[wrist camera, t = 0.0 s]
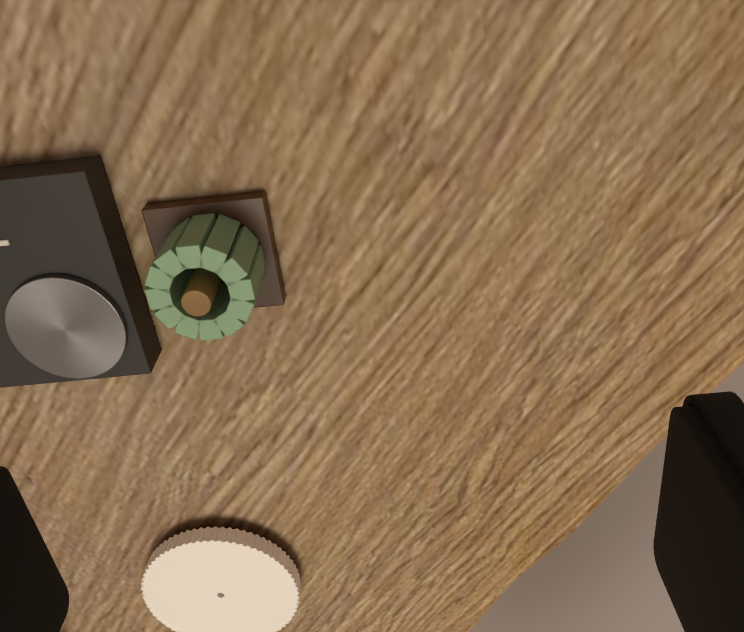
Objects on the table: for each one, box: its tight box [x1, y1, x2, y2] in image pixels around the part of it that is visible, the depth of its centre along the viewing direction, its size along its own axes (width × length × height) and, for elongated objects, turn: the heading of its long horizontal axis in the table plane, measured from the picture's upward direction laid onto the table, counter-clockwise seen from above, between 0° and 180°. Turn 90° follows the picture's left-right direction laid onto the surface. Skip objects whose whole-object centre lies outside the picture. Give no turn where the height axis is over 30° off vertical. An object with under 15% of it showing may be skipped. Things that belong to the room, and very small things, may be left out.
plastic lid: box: [141, 527, 301, 632], centre depth 64 cm, size 14×14×2 cm
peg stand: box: [142, 191, 286, 316], centre depth 45 cm, size 8×8×7 cm
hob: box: [0, 156, 161, 387], centre depth 48 cm, size 15×15×3 cm
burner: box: [5, 274, 128, 379], centre depth 48 cm, size 8×8×1 cm
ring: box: [145, 213, 265, 341], centre depth 45 cm, size 7×7×5 cm
